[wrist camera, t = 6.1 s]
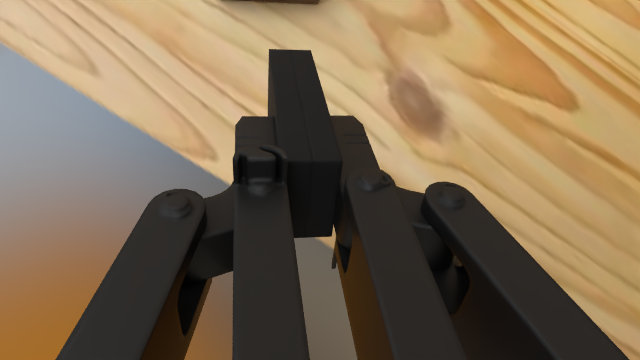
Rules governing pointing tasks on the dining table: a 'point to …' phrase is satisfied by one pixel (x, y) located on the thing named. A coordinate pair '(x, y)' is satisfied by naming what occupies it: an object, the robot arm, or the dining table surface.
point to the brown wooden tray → (290, 1)
